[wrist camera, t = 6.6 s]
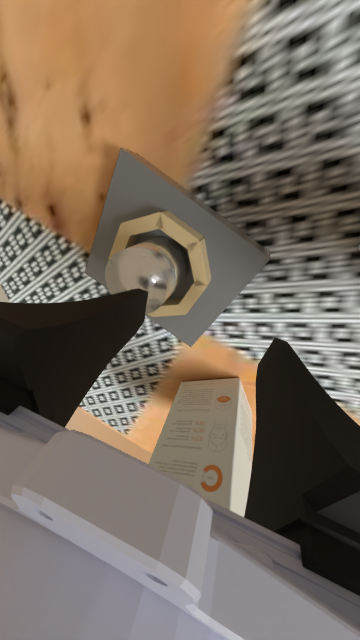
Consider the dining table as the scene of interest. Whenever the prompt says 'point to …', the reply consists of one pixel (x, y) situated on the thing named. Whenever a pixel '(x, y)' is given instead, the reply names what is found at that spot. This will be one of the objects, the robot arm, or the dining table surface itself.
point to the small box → (209, 441)
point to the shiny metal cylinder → (148, 270)
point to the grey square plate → (186, 229)
